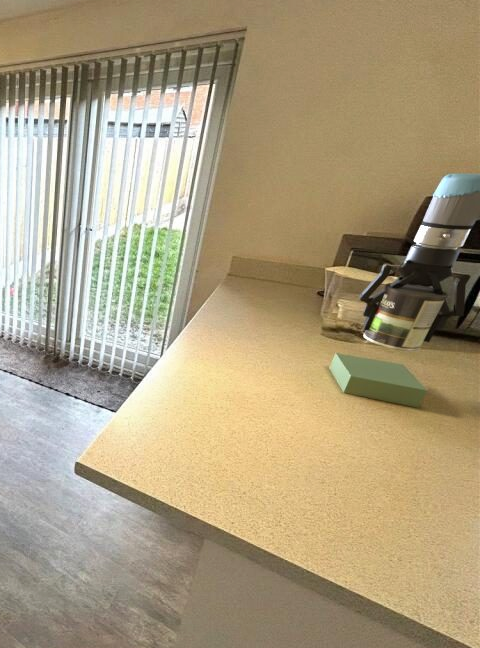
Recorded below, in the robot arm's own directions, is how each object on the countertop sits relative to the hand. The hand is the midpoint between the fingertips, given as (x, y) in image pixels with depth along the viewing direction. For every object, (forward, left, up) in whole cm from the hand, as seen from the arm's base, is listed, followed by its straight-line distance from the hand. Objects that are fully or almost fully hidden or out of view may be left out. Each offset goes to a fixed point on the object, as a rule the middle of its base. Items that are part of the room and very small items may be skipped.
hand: (394, 333), depth 98 cm
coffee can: (0, 0, -2) cm, 2 cm away
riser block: (0, 0, -15) cm, 15 cm away
